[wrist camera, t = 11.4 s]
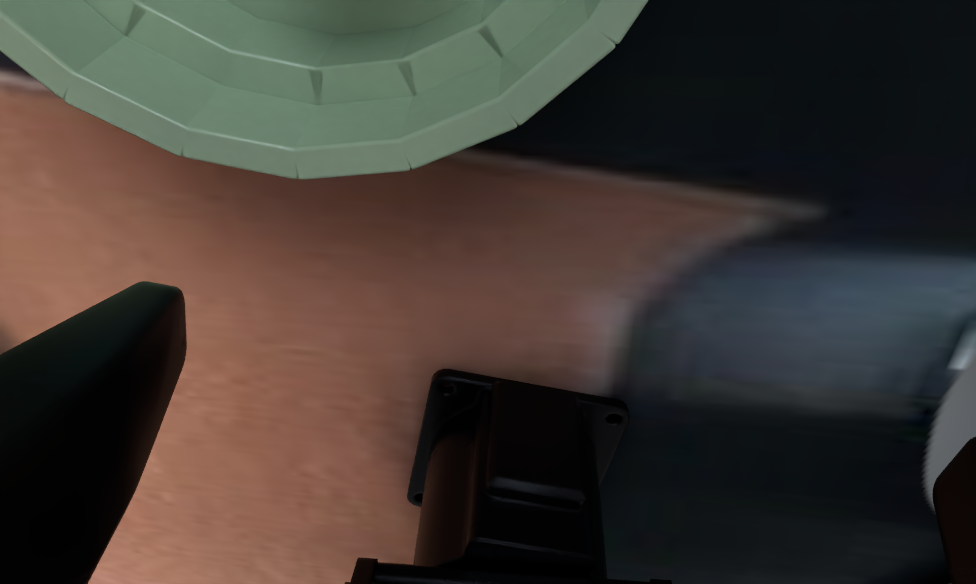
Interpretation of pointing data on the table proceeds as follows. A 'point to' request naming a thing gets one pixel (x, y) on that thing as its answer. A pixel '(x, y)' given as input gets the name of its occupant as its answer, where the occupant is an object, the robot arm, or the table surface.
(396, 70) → the bowl
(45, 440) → the robot arm
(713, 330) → the table surface
